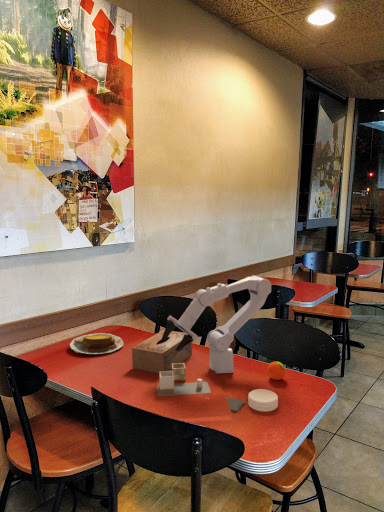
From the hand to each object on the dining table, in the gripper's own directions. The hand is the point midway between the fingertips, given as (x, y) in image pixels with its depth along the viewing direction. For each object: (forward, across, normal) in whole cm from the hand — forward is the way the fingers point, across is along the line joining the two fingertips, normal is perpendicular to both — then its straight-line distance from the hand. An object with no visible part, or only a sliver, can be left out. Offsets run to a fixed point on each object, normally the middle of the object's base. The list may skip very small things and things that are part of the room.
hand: (169, 345), depth 157 cm
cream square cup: (+13, +11, -4) cm, 17 cm away
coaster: (-4, +41, +1) cm, 41 cm away
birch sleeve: (+9, +9, +6) cm, 14 cm away
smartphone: (+5, +30, -3) cm, 30 cm away
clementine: (-13, +37, +19) cm, 44 cm away
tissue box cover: (+9, -6, +18) cm, 21 cm away
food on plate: (+25, -41, +23) cm, 53 cm away
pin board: (+10, +15, -1) cm, 18 cm away
